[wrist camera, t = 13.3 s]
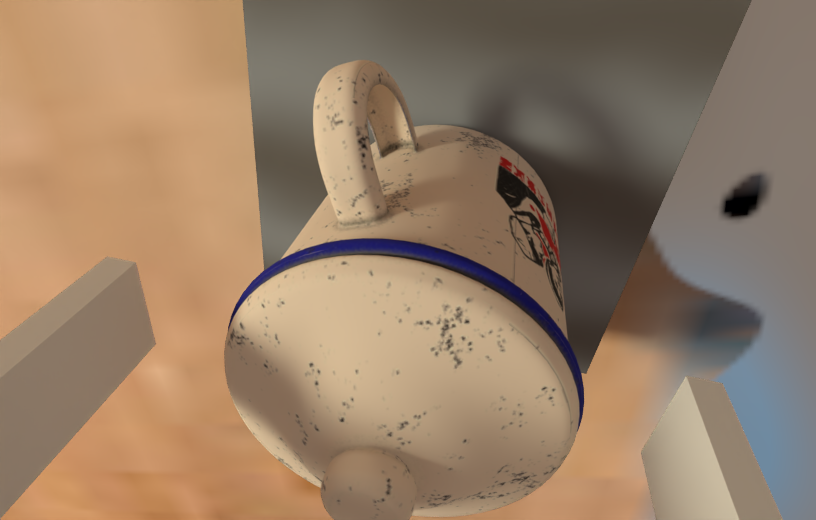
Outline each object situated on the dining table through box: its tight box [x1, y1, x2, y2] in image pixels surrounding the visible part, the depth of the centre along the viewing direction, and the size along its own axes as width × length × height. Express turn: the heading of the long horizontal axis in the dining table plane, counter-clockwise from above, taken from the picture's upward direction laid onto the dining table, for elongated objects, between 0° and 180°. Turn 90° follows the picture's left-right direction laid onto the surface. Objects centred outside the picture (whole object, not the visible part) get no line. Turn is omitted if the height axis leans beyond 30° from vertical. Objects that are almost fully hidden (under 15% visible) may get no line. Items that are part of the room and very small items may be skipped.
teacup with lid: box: [224, 60, 584, 520], centre depth 14 cm, size 12×9×12 cm
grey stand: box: [243, 0, 751, 374], centre depth 20 cm, size 15×15×4 cm
